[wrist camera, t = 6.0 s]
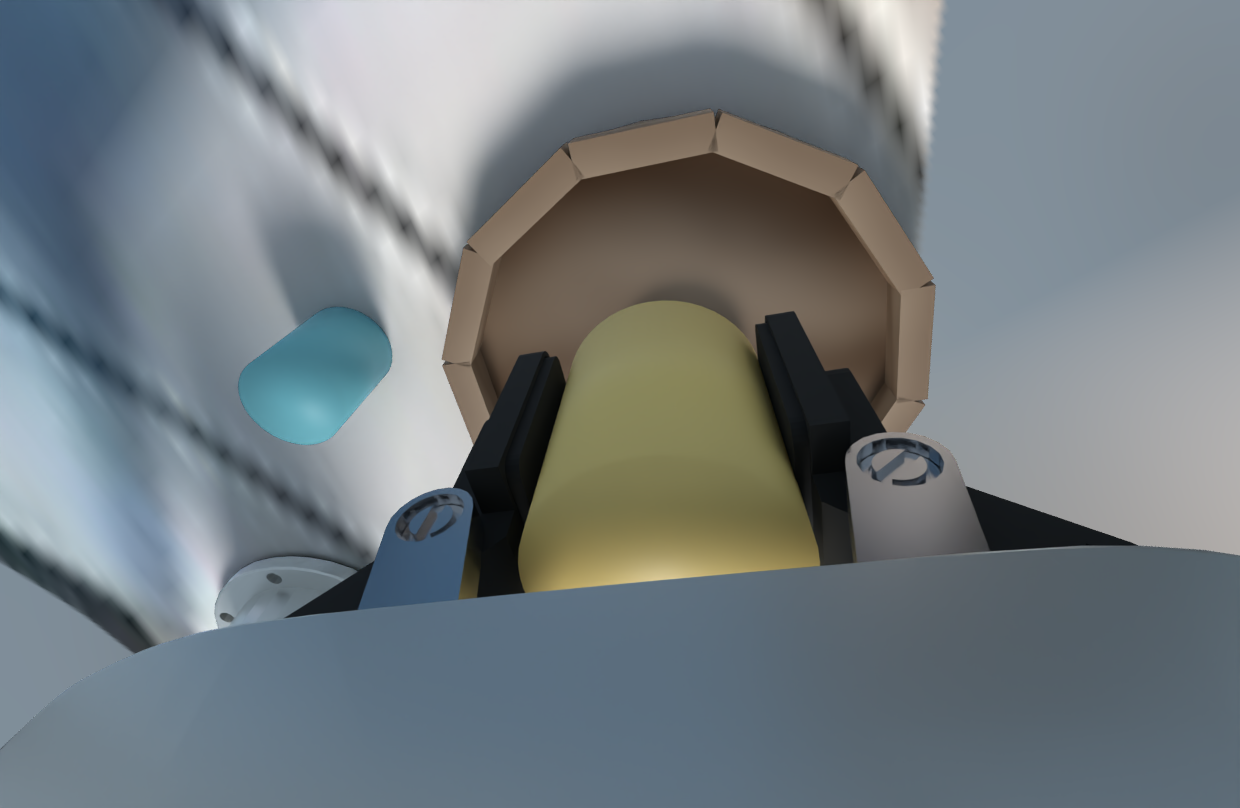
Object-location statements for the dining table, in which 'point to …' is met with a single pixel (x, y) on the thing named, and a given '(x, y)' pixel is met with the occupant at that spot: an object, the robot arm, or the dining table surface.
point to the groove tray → (694, 256)
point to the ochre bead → (663, 460)
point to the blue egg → (316, 376)
